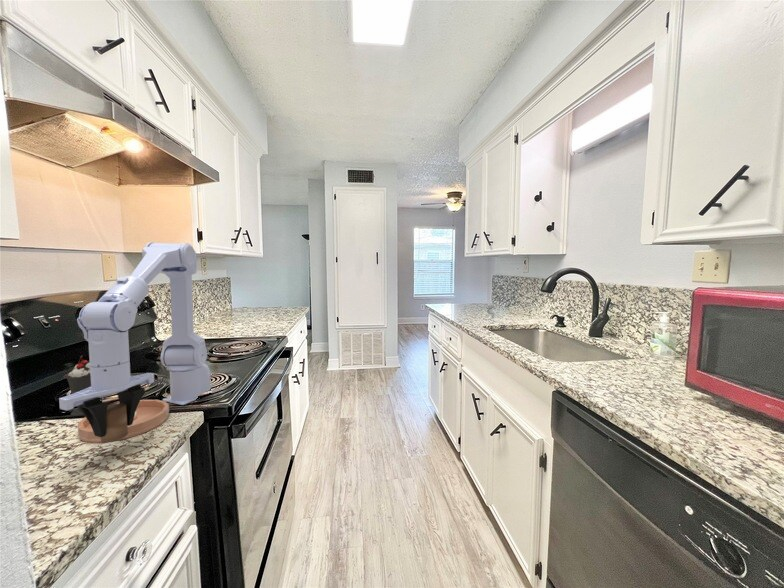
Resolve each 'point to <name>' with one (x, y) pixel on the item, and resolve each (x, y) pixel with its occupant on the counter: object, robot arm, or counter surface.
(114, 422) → the brown cylinder
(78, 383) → the sundae
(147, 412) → the groove tray
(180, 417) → the counter surface
